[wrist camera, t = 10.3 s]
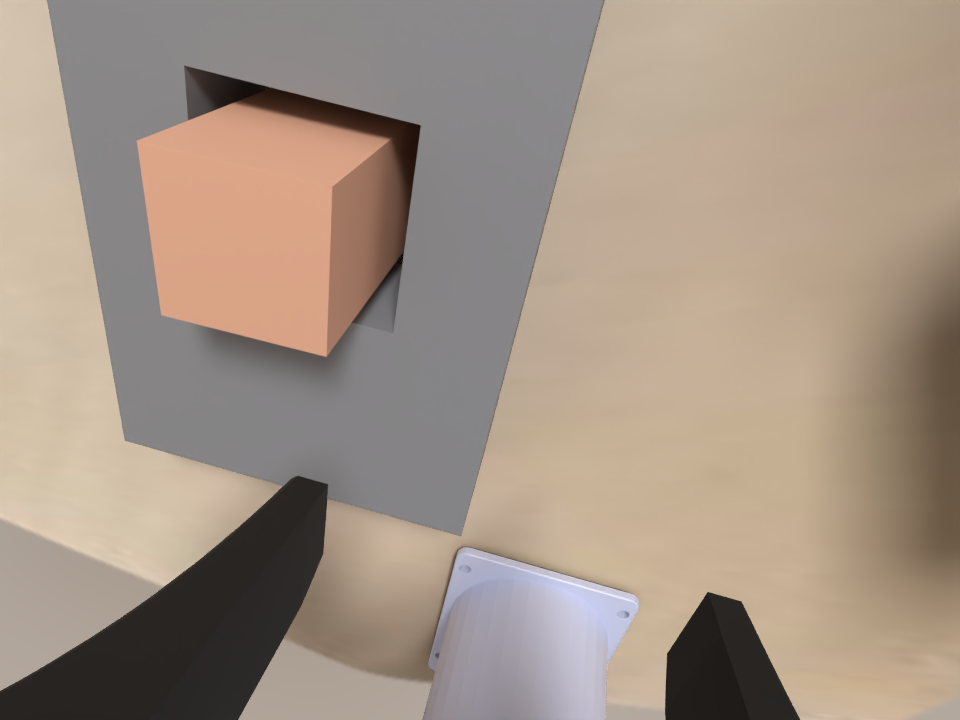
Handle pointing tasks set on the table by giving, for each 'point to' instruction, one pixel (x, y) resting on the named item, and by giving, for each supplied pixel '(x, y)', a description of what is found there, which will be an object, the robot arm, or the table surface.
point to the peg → (277, 215)
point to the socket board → (408, 286)
